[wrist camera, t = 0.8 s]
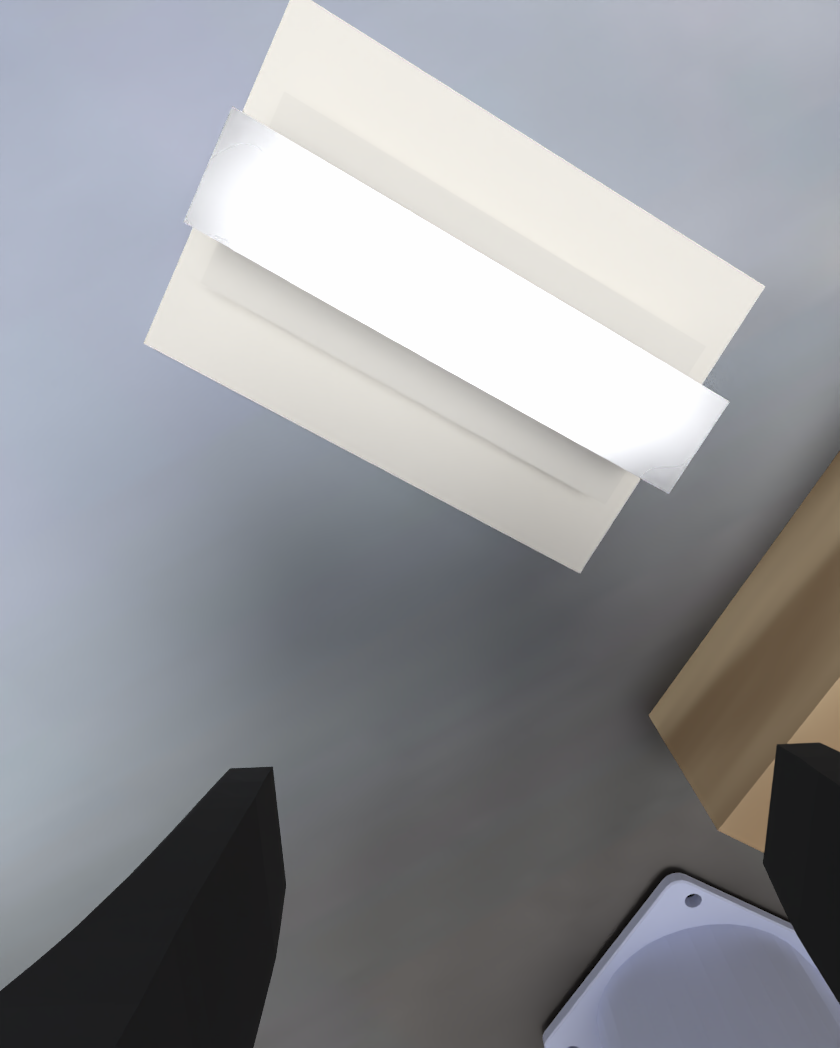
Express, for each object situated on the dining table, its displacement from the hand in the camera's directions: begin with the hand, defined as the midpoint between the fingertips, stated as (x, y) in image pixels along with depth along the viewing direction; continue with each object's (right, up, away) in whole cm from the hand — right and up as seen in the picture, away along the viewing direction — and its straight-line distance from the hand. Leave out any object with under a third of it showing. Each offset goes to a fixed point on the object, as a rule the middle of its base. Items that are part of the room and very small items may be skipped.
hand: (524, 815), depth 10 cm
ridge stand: (-1, +9, +7) cm, 12 cm away
